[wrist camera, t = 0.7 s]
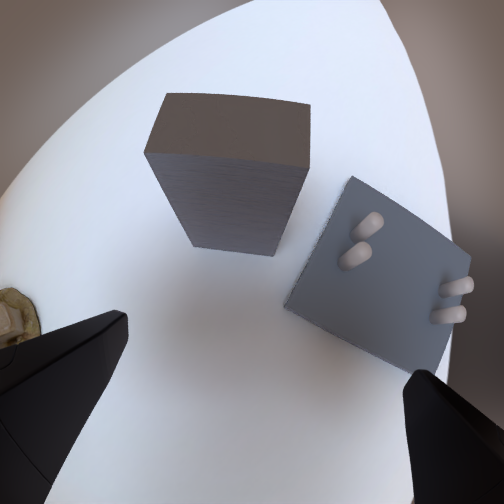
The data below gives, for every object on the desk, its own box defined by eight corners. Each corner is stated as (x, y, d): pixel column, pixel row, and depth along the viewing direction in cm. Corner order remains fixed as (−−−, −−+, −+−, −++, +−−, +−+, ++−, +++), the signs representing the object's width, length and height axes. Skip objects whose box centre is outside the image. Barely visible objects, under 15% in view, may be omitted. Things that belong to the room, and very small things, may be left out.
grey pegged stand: (423, 380, 19) (457, 386, 15) (283, 307, 21) (295, 301, 16) (463, 260, 22) (495, 246, 18) (347, 182, 24) (367, 152, 19)
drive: (272, 256, 22) (309, 168, 10) (193, 246, 22) (143, 152, 10) (277, 214, 23) (310, 101, 11) (201, 205, 23) (168, 89, 11)
